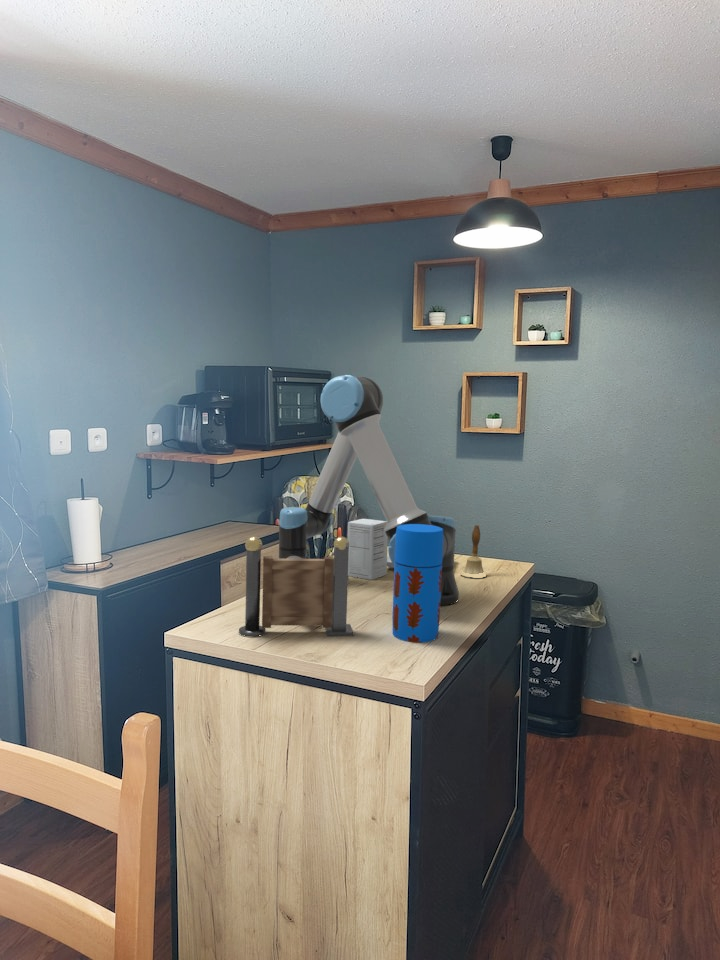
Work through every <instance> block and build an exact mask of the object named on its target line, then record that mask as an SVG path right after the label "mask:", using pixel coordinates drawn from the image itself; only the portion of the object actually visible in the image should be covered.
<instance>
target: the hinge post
mask: <svg viewBox="0 0 720 960" xmlns="http://www.w3.org/2000/svg"><path fill="white" fill-rule="evenodd" d="M244 546H245V550H246V553H245V554H246V555H245V556H246V559H245V560H246V561H245V563H246V564H245V566H246V567H245V614H244V618H245V619H244V620H245V622H244V625H243V626H241V627H239V628H238V634H239V633H240V634H241V635H240V634H239V635H240V636H242V635H245V636H258V637H260V636H259V635H262V636H264V635H265V634H266V633H265V632H266V631H267V630H266V629H267V628H262V625H260V616H261V615H260V613H261V610H260V609H261V571H262V570H261V569H262V568H261V565H262V564H261V563H262V557H261V555H262V554H261V553H262V548H263V542H262V540H261V538H259V536H254V535H253V536H250V537H248V538H247V540H245V544H244ZM264 633H265V634H264ZM263 634H264V635H263ZM245 636H244V637H245Z"/></svg>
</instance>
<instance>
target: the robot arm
mask: <svg viewBox="0 0 720 960" xmlns="http://www.w3.org/2000/svg"><path fill="white" fill-rule="evenodd" d="M383 405H384V396H383V391H382V390H381V387H380V386H379V385H378V384H377V382H375V380H373V379H371V378H368V377H363V376H353V375H350V374H345V375H338V376H335V377H333V378H331V379H330V380H328V381H327V382H326V384H325V385H324V387H323V389H322V390H321V394H320V407H321V410H322V412H323V414H324V415H325V417H327V418H328V419H329V420H331V421H333V422H334V423H335V425H336V427H337V429H338V432H337V435H336V438H335V439H334V442H333V443H332V447H331V449H330V451H329V454H328V456H327V458H326V461H325V463H324V464H323V468H322V470H321V472H320V474H319V477H318V479H317V481H316V484H315V486H314V489H313V490H312V493H311V495H310V498H309V499H308V502H307V505H306V507H305V508H304V507H297V506H295V507H294V506H291V507H283V508H282V509H280V513H279V520H278V528H279V529H278V558H277V559H307V543H308V542H307V539H310V538H312V537H316V536H319V535H322V534H324V533H326V532H327V531H329V530H330V529H331V526H332V524H333V516H332V513H333V511H334V509H335V507H336V505H337V502H338V500H339V498H340V496H341V493H342V492H343V489H344V487H345V485H346V483H347V480H348V479H349V475H350V473H351V471H352V469H353V467H354V465H355V462H356V460H358V461H359V464H360V466H361V468H362V470H363V472H364V474H365V477H366V478H367V481H368V483H369V486H370V488H371V490H372V492H373V493H374V496H375V498H376V501H377V503H378V505H379V508H380V509H381V511H382V514H383V516H384V518H385V521H387V525H386V528H385V533H386V535H387V537H388V542H389V544H388V546H387V554H388V555H389V557H390V559H391V561H392V563H393V564H395V538H396V530H397V526H399V525H405V524H424V525H433V526H438V527H441V528H442V529H443V536H444V537H443V559H442V580H441V601H440V607H442V606H441V605H443V606H448V605H447V604H450V605H452V604H451V603H454V602H456V601H457V600H458V599H459V597H460V592H459V587H458V585H457V581H456V577H455V572H454V566H455V563H454V562H455V556H454V555H455V549H456V547H455V546H456V545H455V544H456V532H457V527H456V520H455V518H453V517H452V516H443V515H431V514H428V513H427V511H425V510H422V509H420V508H418V506H417V504H416V502H415V499H414V497H413V495H412V493H411V491H410V489H409V487H408V484H407V482H406V480H405V478H404V476H403V474H402V471H401V469H400V467H399V465H398V463H397V461H396V458H395V456H394V454H393V452H392V449H391V448H390V445H389V443H388V441H387V439H386V436H385V434H384V433H383V430H382V428H381V426H380V421H381V419H382V414H381V412H382V409H383ZM458 601H459V600H458ZM456 603H457V602H456ZM454 604H455V603H454Z"/></svg>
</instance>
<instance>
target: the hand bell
mask: <svg viewBox="0 0 720 960" xmlns="http://www.w3.org/2000/svg"><path fill="white" fill-rule="evenodd" d="M480 540H481V530H480V525H477V524H475V525H474V527H473V530H472V533H471V541H472V552H471V556H469V557H467V559H466V564H465V567H464V569H462V571H463V572H465V573H469V574H479V573H483V572H485V571H484V567H483V561H482V558H480V557H479V556H478V552H479V549H478V547H479V544H480Z"/></svg>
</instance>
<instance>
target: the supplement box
mask: <svg viewBox="0 0 720 960" xmlns="http://www.w3.org/2000/svg"><path fill="white" fill-rule="evenodd" d="M386 525H387V521H386V520H379V519H371V518H359V519H354V520H351V521H348V522H347V539H348V541H349V556H348V577H352V576H353V577H352V578H357V577H358V579H364V580H368V581H369V580H370V581H373V580H375V579H378V577H379V578H381V577H385V576H387V575H386V574H388V572H387V571H388V566H387V556H388V542H389V539H388V537H387V535H386V533H385V528H386Z"/></svg>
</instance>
